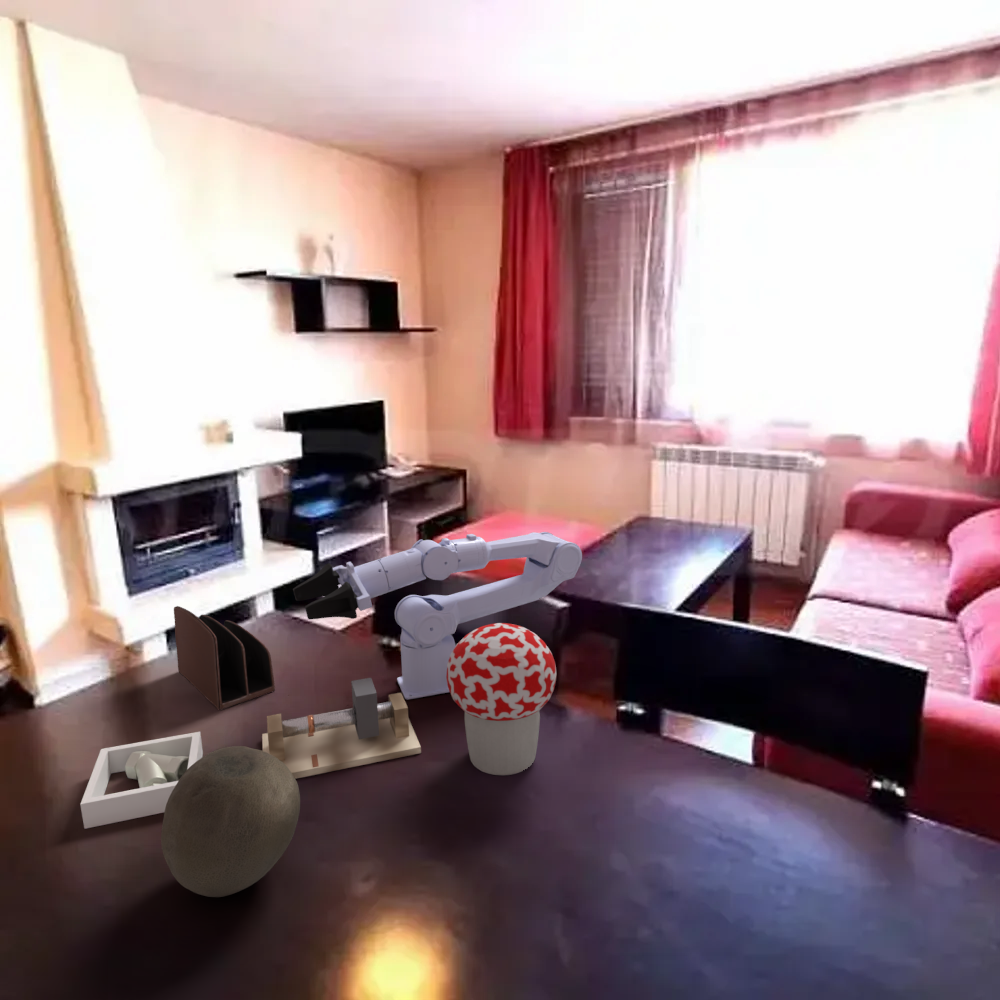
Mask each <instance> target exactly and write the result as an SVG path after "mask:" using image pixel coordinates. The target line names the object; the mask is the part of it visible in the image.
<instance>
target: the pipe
mask: <svg viewBox="0 0 1000 1000" xmlns="http://www.w3.org/2000/svg"><path fill="white" fill-rule="evenodd" d="M377 707H378V720H382V719H388V718H393V706H392V702H391V701H390V702H389V701H386V702H381V703H380V702H379V703H377ZM355 724H357V715H356V709H355V708H353V707H351V708H346V709H341V710H336V711H335V710H334V711H328V712H323V713H318V714H308V715H305V716H300V717H295V718H290V719H284V720H282V730H283V738H285V737H291V736H296V735H302V734H307V733H309V734H311V733H315V732H318V731H323V730H328V729H334V728H339V727H345V726H350V725H355Z"/></svg>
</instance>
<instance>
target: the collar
mask: <svg viewBox="0 0 1000 1000" xmlns="http://www.w3.org/2000/svg"><path fill="white" fill-rule="evenodd" d="M350 684H351V696H352V697H351V698H352V708H355V709H356V715H357V724H355V727H356V731H357V735H358V738H359V739H364V738H369V737H374V736H379V724H378V707H377V704H378V693H377V690H376V688H375V687H376V686H375V685H374V682H373V679H372V677H367V678H359V679H354V680H351V682H350Z"/></svg>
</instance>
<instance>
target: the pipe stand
mask: <svg viewBox="0 0 1000 1000" xmlns="http://www.w3.org/2000/svg"><path fill="white" fill-rule="evenodd" d="M405 700H406V699H405V697H404V695H403V693H402V692H397V693H391V694H388V702H390V701H391V702H392V706H393V718H388V719H382V720H378V724H379V736H374V737H369V738H364V739H359V738H358V735H357V731H356V727H355V725H350V726H345V727H339V728H334V729H328V730H323V731H318V732H315V733H311V734H309V733H307V734H302V735H296V736H291V737H285V738H283V730H282V721H283V720H282V719H283V718H282V713H276V714H271V715H267V716H266V724H267V730H266V731H267V732H266V733H262V734H261V735H262V736H261V738H262V751H264V752H267V753H269V754H271V755H272V756H274V757H276V758H277V759H279V760H280V761H281V762H283V763H284V764H285V765H286V766H287V767H288V769H289V770H290V772H291V773H292V775H293V776H294V778H295V780H296V779H301V778H306V777H311V776H315V775H321V774H326V773H330V772H334V771H340V770H345V769H348V768H349V769H350V768H355V767H359V766H363V765H370V764H374V763H377V762H384V761H388V760H394V759H398V758H403V757H407V756H408V757H409V756H414V755H418V754H421V753H422V747H421V744H420V742H419V739H418V737H417V734H416V731H415V730H414V728H413V726H412V725H413V724H412V723H411V719H410V718H409V707H408V705H407V702H406V701H405Z"/></svg>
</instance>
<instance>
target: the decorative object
mask: <svg viewBox="0 0 1000 1000" xmlns="http://www.w3.org/2000/svg"><path fill="white" fill-rule="evenodd" d="M455 645H456V646H455V648H454V650H453V651H452V653H451V655H450V658H449V661H448V664H447V676H446V678H447V685H448V688H449V691H450V692H449V693H450V695H451V698H452V700H453V701H454V703H456V704H457V706H458V707H459V708H460V709H461V710H462V711H464V727H465V734H466V735H465V736H466V744H467V749H468V754H469V759H470V762H471V763H472V765H473V766H474V767H475V768H476V769H477V770H479V771H481V772H483V773H486V774H489V775H493V776H510V775H516V774H519V773H522V772H524V771H525V769H526V770H527V769H529V768H530V767H531V766H532V765H533V764H534V762H535V760H536V754H537V750H538V749H537V748H538V741H539V731H540V719H541V716H540V714H541V713H540V710H542V708H543V707H544V706H545V705H546V704H547V703H548V702H549V700H551V697H552V695H553V692H554V690H555V688H556V687H555V686H556V681H557V667H556V661H555V659H554V656H553V653H552V651H551V650H550V648H549V646H547V643H546V642H545V641H544V640H543V639H542V638H540V636H538V634H536V633H535V632H533V631H531V630H530V629H528V628H526V627H524V626H521V625H517V624H512V623H509V622H508V623H506V622H497V623H495V622H494V623H490V624H486V625H482V626H480V627H478V628H475V629H473V630H472V631H470V632H469V633H466V634H465V635H464V637H462V639H461V640H459V641H458V643H456V644H455ZM532 763H533V764H532ZM528 767H529V768H528ZM523 770H524V771H523Z"/></svg>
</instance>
